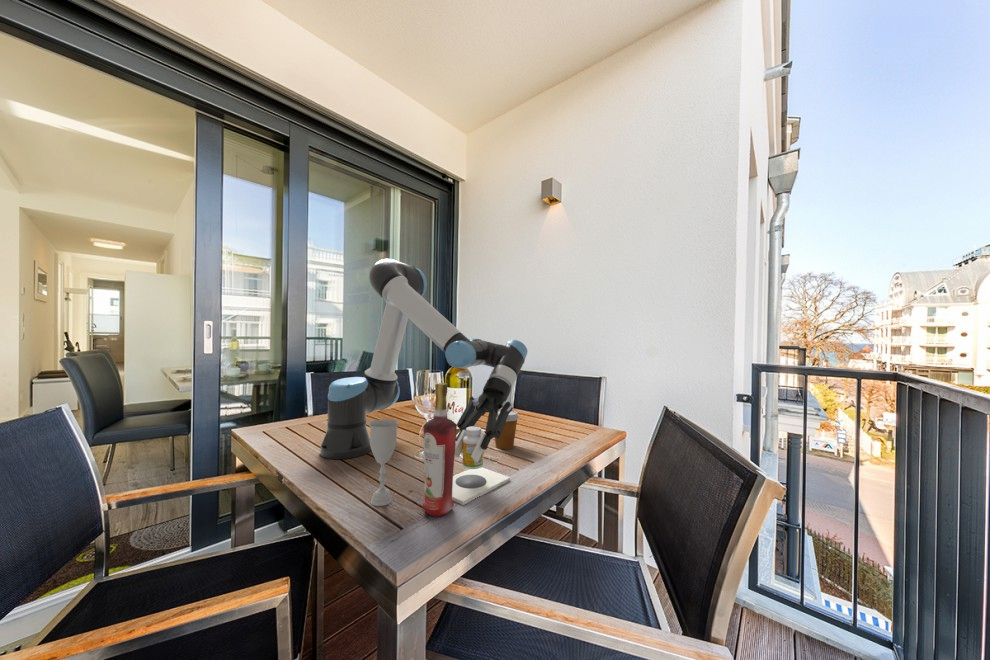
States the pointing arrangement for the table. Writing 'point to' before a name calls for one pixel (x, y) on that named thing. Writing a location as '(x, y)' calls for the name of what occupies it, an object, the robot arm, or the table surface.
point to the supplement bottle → (471, 448)
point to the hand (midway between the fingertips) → (464, 456)
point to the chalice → (383, 454)
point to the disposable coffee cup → (507, 431)
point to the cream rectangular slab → (475, 484)
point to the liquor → (439, 457)
